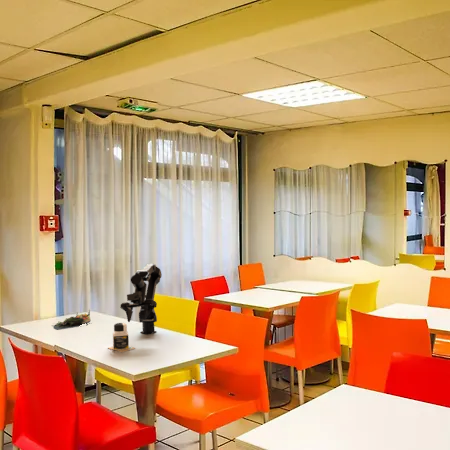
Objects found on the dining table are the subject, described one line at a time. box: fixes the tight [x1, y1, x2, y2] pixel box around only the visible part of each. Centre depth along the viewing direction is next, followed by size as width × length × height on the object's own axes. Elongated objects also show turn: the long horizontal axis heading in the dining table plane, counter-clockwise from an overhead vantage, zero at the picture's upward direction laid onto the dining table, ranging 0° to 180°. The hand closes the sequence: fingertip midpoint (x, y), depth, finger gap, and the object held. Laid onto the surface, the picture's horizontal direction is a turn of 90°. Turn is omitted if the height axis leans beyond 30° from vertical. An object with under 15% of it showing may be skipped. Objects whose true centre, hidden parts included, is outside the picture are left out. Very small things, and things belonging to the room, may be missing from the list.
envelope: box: [107, 346, 136, 353], centre depth 255 cm, size 11×8×1 cm
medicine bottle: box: [112, 322, 130, 351], centre depth 254 cm, size 7×7×12 cm
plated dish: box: [52, 310, 92, 331], centre depth 316 cm, size 35×28×7 cm
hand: (136, 320), depth 263 cm, fingers open, 9 cm apart
